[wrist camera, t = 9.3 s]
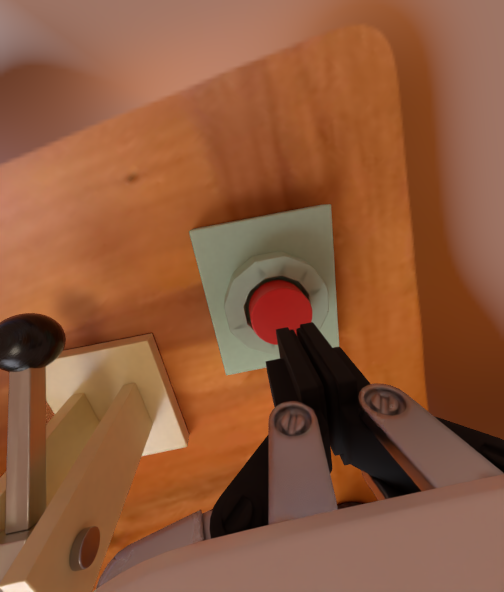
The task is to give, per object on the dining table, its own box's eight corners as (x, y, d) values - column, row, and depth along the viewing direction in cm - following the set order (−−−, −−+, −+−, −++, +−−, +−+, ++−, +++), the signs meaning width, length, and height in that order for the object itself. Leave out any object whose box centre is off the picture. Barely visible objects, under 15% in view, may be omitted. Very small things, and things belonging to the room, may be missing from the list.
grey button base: (192, 228, 16) (182, 233, 13) (321, 204, 16) (344, 202, 13) (226, 362, 20) (225, 392, 17) (331, 341, 20) (350, 367, 17)
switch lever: (27, 322, 15) (-34, 315, 12) (78, 312, 15) (31, 303, 12) (24, 572, 12) (-57, 650, 9) (86, 559, 12) (27, 631, 9)
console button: (244, 285, 15) (245, 294, 13) (301, 274, 15) (310, 282, 13) (253, 336, 16) (256, 350, 14) (306, 325, 16) (315, 339, 14)
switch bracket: (36, 355, 18) (-258, 574, 7) (152, 332, 19) (35, 513, 7) (93, 454, 22) (-43, 698, 11) (189, 435, 22) (149, 656, 11)
